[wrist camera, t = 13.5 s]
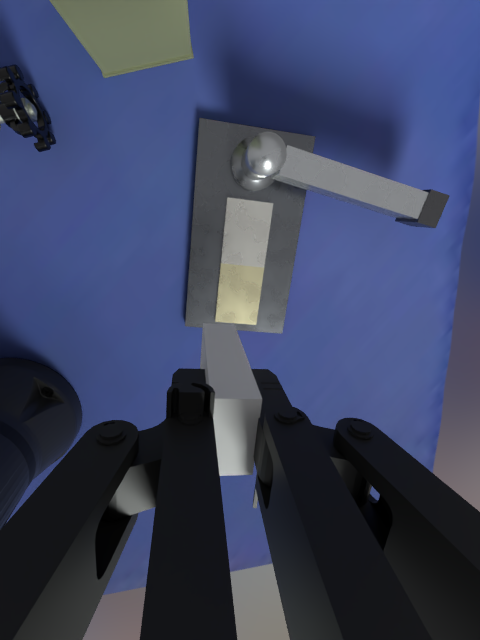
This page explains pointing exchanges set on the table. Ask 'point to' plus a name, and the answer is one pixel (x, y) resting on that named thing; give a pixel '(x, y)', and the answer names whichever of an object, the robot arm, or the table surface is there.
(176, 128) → the table surface
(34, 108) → the valve
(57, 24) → the table surface
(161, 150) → the table surface
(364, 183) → the grey long bar
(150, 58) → the ammunition box
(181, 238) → the table surface
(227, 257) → the plate
